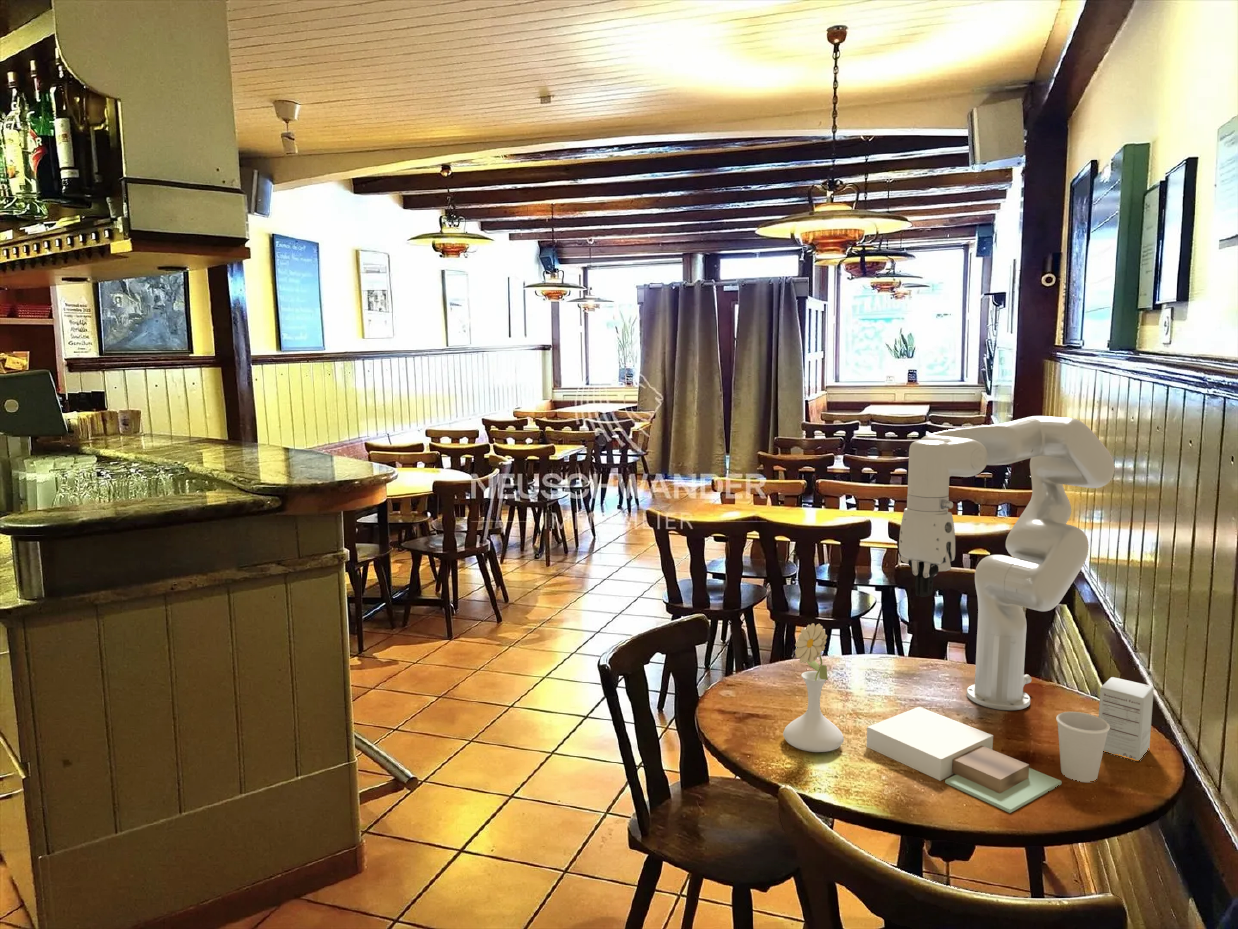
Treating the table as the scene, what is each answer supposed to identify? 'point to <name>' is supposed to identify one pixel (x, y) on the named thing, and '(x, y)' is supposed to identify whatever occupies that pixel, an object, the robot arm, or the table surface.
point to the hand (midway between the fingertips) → (923, 595)
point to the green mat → (1008, 790)
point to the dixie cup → (1081, 744)
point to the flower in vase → (813, 698)
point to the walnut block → (990, 769)
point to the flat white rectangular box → (925, 740)
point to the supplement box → (1126, 716)
